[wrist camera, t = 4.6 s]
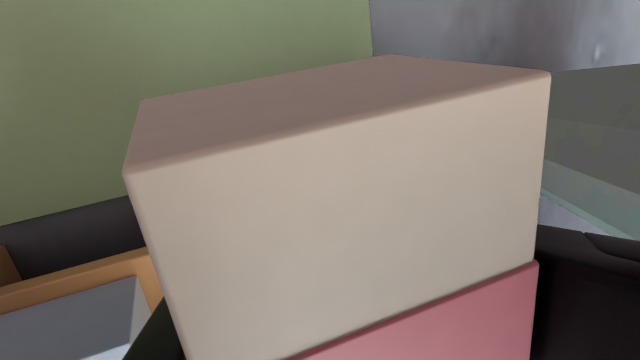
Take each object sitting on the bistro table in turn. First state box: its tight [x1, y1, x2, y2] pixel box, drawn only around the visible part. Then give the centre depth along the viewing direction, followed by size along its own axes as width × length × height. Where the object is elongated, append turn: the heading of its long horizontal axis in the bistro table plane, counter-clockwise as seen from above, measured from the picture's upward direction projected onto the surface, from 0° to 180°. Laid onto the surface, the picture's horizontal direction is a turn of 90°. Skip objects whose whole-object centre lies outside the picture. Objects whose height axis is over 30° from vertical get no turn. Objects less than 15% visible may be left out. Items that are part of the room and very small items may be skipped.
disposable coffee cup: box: [540, 64, 640, 241], centre depth 20 cm, size 11×11×15 cm
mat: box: [0, 0, 373, 226], centre depth 19 cm, size 20×9×1 cm, turn 100°
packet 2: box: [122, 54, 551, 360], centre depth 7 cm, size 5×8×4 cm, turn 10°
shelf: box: [0, 245, 164, 315], centre depth 19 cm, size 20×11×10 cm, turn 100°
